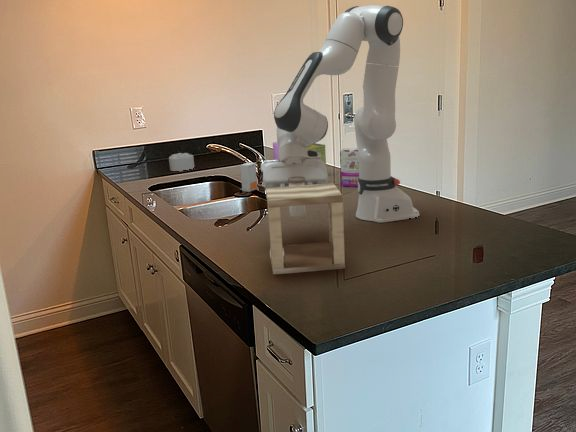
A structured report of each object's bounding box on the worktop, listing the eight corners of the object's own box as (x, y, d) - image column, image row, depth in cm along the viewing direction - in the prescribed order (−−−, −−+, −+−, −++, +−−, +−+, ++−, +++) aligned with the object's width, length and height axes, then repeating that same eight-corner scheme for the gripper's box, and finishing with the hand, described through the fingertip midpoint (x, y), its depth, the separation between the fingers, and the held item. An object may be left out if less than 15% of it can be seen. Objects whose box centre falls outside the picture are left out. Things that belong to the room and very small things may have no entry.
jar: (304, 212, 183) (303, 176, 180) (306, 216, 178) (306, 179, 175) (288, 213, 183) (287, 176, 180) (289, 217, 178) (288, 180, 175)
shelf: (269, 254, 178) (265, 186, 172) (335, 248, 179) (332, 181, 173) (273, 274, 161) (268, 200, 156) (344, 268, 163) (342, 195, 157)
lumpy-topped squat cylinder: (169, 169, 323) (167, 153, 320) (192, 166, 327) (191, 151, 324) (172, 172, 313) (170, 156, 311) (196, 169, 317) (194, 153, 315)
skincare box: (249, 192, 258) (247, 165, 255) (242, 191, 261) (239, 164, 257) (257, 189, 263) (255, 162, 260) (250, 188, 266) (248, 162, 262)
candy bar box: (368, 185, 258) (367, 148, 254) (365, 187, 254) (364, 150, 250) (344, 184, 263) (342, 147, 258) (340, 186, 258) (339, 149, 254)
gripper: (260, 155, 181) (263, 193, 175) (325, 152, 183) (331, 189, 176) (260, 166, 187) (262, 203, 180) (323, 163, 189) (328, 200, 182)
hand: (297, 196), depth 178 cm, fingers closed on jar, 5 cm apart
